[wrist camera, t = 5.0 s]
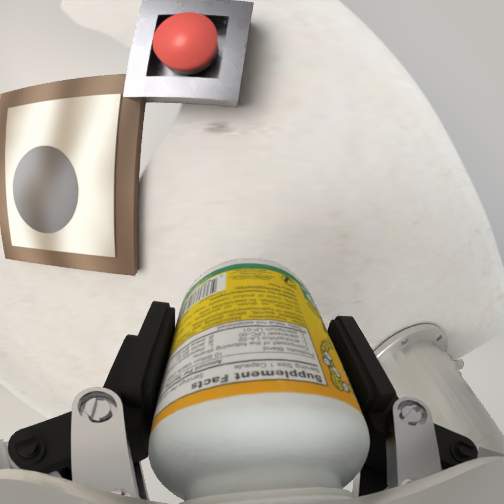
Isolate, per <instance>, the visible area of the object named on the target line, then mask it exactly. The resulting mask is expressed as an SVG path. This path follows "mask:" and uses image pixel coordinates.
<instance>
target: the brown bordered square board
mask: <svg viewBox="0 0 504 504" xmlns="http://www.w3.org/2000/svg"><path fill="white" fill-rule="evenodd" d="M125 80H126V74H118V75H105V76H94V77H86V78H77V79H70V80H63V81H58V82H52V83H46V84H41V85H36V86H31V87H26V88H22V89H18V90H14V91H11V92H6V93H3V94H1V95H0V227H1V235H2V241H3V247H4V253H5V258H6V259H12V260H18V261H25V262H31V263H38V264H45V265H52V266H59V267H67V268H74V269H82V270H90V271H98V272H106V273H114V274H123V275H132V276H135V274H136V273H137V271H138V269H139V266H138V191H139V169H140V154H141V142H142V131H143V121H144V112H145V104H146V102H144V101H134V100H131V99H128V98H124V97H123V93H124V86H125Z"/></svg>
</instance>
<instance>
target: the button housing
mask: <svg viewBox="0 0 504 504" xmlns="http://www.w3.org/2000/svg"><path fill="white" fill-rule="evenodd" d="M253 4H254V3H253V2H245V1H235V0H143V1H142V4H141V8H140V12H139V16H138V20H137V24H136V28H135V32H134V37H133V42H132V46H131V51H130V57H129V62H128V68H127V74H126V80H125V86H124V93H123V97H124V98H128V99H131V100H134V101H144V102H164V103H189V104H205V105H218V106H228V107H237V104H238V99H239V92H240V85H241V78H242V71H243V65H244V58H245V52H246V46H247V39H248V33H249V27H250V21H251V15H252V9H253ZM184 12H194V13H199V14H202V15H204V16H206V17H207V18H209V19H210V20H211V21H212V23H213V24H214V26H215V28H216V32H217V41H218V52H217V56H216V58H215V60H214V61H213V62H212V64H211V65H210V66H209V67H207V68H206V69H205V70H203V71H201V72H198V73H195V74H190V75H183V74H178V73H175V72H173V71H171V70H170V69H169V68H168V67H167V66H166V65H165V64H164V63H163V62H162V61H161V60H160V59H159V58H158V57H157V55H156V54H155V52H154V49H153V37H154V34H155V31H156V30H157V28H158V27H159V26H160V24H161V23H162V22H164V21H165V20H166V19H168V18H169V17H171V16H173V15H176V14H179V13H184Z"/></svg>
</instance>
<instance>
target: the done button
mask: <svg viewBox="0 0 504 504" xmlns="http://www.w3.org/2000/svg"><path fill="white" fill-rule="evenodd" d="M153 49H154V52H155V54H156V55H157V57H158V58H159V59H160V60H161V61H162V62H163V63H164V64H165V65H166V66H167V67H168V68H169V69H170V70H171V71H173V72H175V73H178V74H183V75H190V74H195V73H198V72H201V71H203V70H205V69H206V68H207V67H209V66H210V65H211V64H212V62H213V61H214V60H215V58H216V56H217V52H218V41H217V32H216V28H215V26H214V24H213V23H212V21H211V20H210V19H209V18H207V17H206V16H204V15H202V14H199V13H194V12H184V13H179V14H176V15H173V16H171V17H169V18H168V19H166V20H165V21H164V22H162V23H161V24H160V26H159V27H158V28H157V30H156V31H155V34H154V37H153Z"/></svg>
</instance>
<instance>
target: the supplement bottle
mask: <svg viewBox="0 0 504 504" xmlns="http://www.w3.org/2000/svg"><path fill="white" fill-rule="evenodd" d="M369 447H370V437H369V432H368V428H367V424H366V422H365V419H364V416H363V414H362V411H361V409H360V406H359V404H358V401H357V399H356V396H355V394H354V392H353V389H352V387H351V384H350V382H349V379H348V376H347V375H346V373H345V370H344V368H343V366H342V363H341V361H340V359H339V356H338V354H337V352H336V350H335V348H334V346H333V343H332V341H331V339H330V337H329V335H328V332H327V330H326V327H325V325H324V323H323V321H322V318H321V316H320V314H319V312H318V309H317V307H316V305H315V303H314V301H313V299H312V297H311V295H310V293H309V292H308V290H307V289H306V287H305V286H304V284H303V283H302V282H301V280H300V279H299V278H298V277H297V276H296V275H295V274H294V273H292V272H291V271H290V270H288V269H287V268H285V267H284V266H282V265H280V264H277V263H275V262H271V261H267V260H262V259H236V260H231V261H227V262H224V263H222V264H219V265H217V266H215V267H213V268H211V269H209V270H208V271H206V272H205V273H203V274H202V275H201V276H200V277H199V278H198V279H197V280H196V281H195V282H194V283H193V284H192V286H191V287H190V288H189V290H188V292H187V293H186V295H185V298H184V300H183V303H182V306H181V309H180V312H179V316H178V319H177V323H176V327H175V331H174V336H173V340H172V344H171V348H170V352H169V356H168V360H167V364H166V368H165V371H164V375H163V379H162V383H161V387H160V391H159V396H158V400H157V404H156V409H155V414H154V418H153V423H152V428H151V433H150V438H149V448H148V454H149V460H150V464H151V467H152V469H153V471H154V473H155V475H156V476H157V478H158V479H159V481H160V482H161V483H162V484H163V485H164V486H165V487H166V488H167V489H168V490H169V491H171V492H172V493H173V494H174V495H176V496H178V497H179V498H181V499H183V500H184V502H182V503H180V504H323V503H329V502H335V501H341V500H346V499H351V498H356V497H355V495H354V494H353V493H352V492H350V491H348V490H344V489H343V487H345V486H346V485H347V484H348V483H349V482H351V480H353V479H354V477H355V476H356V475H357V474H358V473H359V471H360V470H361V468H362V467H363V465H364V463H365V461H366V458H367V456H368V452H369Z"/></svg>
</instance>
